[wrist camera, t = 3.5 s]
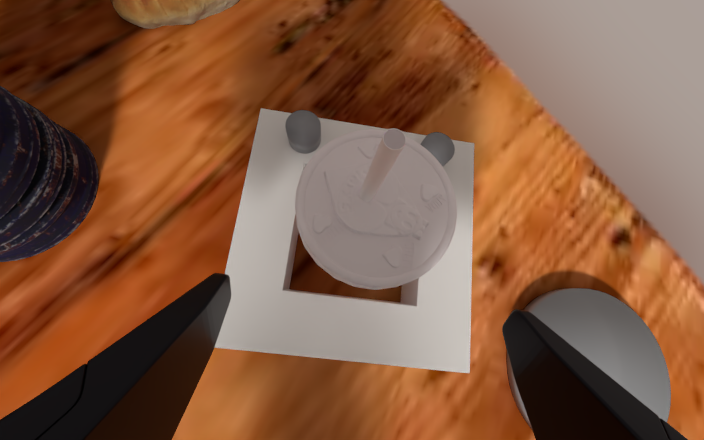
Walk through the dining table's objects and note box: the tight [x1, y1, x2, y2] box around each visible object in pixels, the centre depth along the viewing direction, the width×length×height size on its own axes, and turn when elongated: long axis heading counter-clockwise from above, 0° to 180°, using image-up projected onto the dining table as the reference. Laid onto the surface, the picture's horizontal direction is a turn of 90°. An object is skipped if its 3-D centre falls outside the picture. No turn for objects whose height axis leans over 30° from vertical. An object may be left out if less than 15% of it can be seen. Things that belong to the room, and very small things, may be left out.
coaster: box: [507, 288, 671, 429], centre depth 19 cm, size 11×11×1 cm
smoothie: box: [295, 128, 457, 290], centre depth 13 cm, size 6×6×14 cm
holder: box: [215, 108, 474, 373], centre depth 18 cm, size 14×14×5 cm
